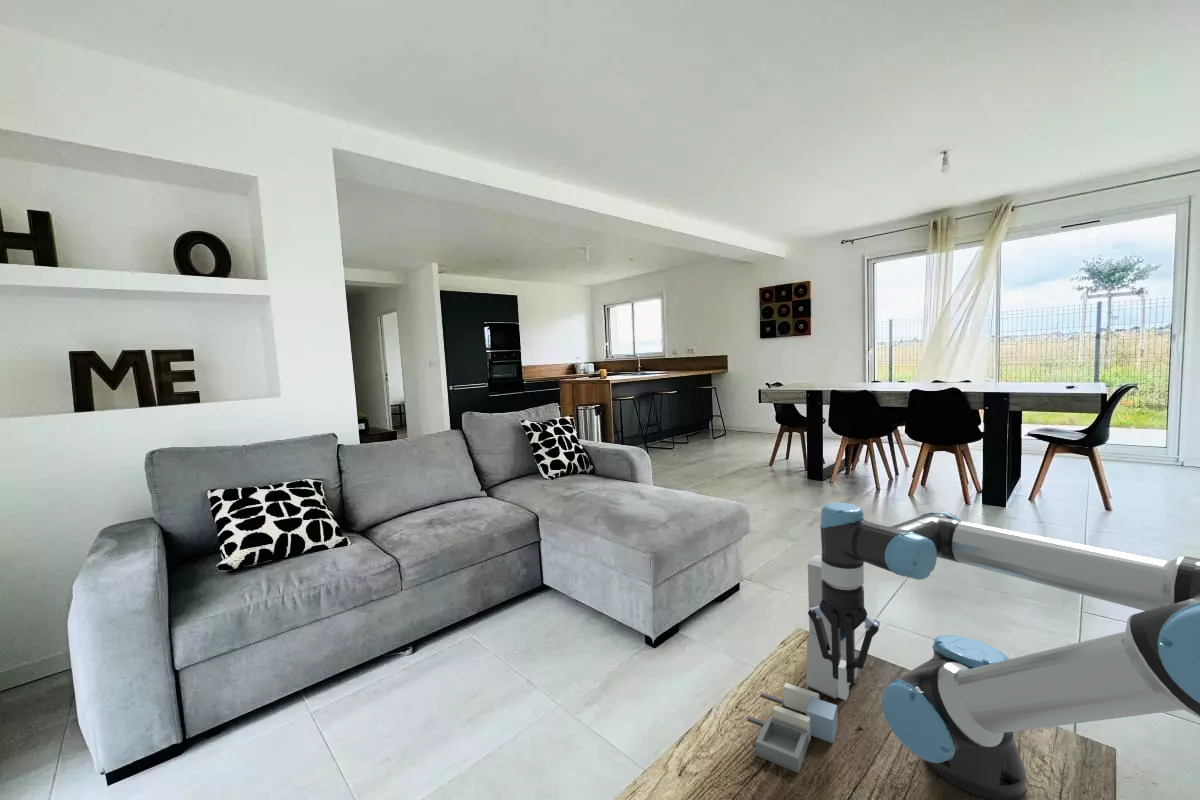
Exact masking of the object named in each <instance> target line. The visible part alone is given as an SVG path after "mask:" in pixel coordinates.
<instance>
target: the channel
mask: <svg viewBox="0 0 1200 800" xmlns="http://www.w3.org/2000/svg"><path fill="white" fill-rule="evenodd" d="M783 693H784V694H783V697H784V699H783V700H784V702H783V703H784V707H787V708H784V707H782V706H780V705H779V706H778V705H776V704H775V705H774V707H773V709H772V719H775V720H778V721H781V722H783V723H786V724H789V725H791V726H794V727H797V728H800V729H802V730H805V731H808V743H809V744H810V742H811V737H812V735H811V727H810V717H808V716H806V715H804V714H801V713H805V714H806V710H807V708H808V705H809V702H810V700H811V697H813V698H816V699H819V700H820V692H819V693H818V692H815V691H812V690H810V689H806V688H803V687H801V686H796V685H793V684H791V683H788V682H785V684H784V685H783ZM788 708H789V709H788ZM790 709H793V710H796V711H793V710H790ZM797 711H799V712H801V713H799V712H797Z"/></svg>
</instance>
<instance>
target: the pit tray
mask: <svg viewBox="0 0 1200 800" xmlns="http://www.w3.org/2000/svg"><path fill="white" fill-rule="evenodd" d="M764 722H765V723H764V725H762V726H761V727H762V728H761V730H760V731H759V733H758V736H757V738H756V740H755V756H757V757H759V758H761V759H764V760H767V761H769V762H772V763H774V764H776V765H778V766H781V767H784V768H785V769H788V770H790V771H793V772H795V773H797V774H799V773H800V771H801V768H802V765H803V762H804V759H805V756H806V754H807V750H808V747H809V744H810V742H809V743H808V731H805V730H802V729H800V728H797V727H794V726H791V725H789V724H786V723H783V722H781V721H778V720H775V719H773V717H769V716H767V718H766V720H765V721H764Z"/></svg>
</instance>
